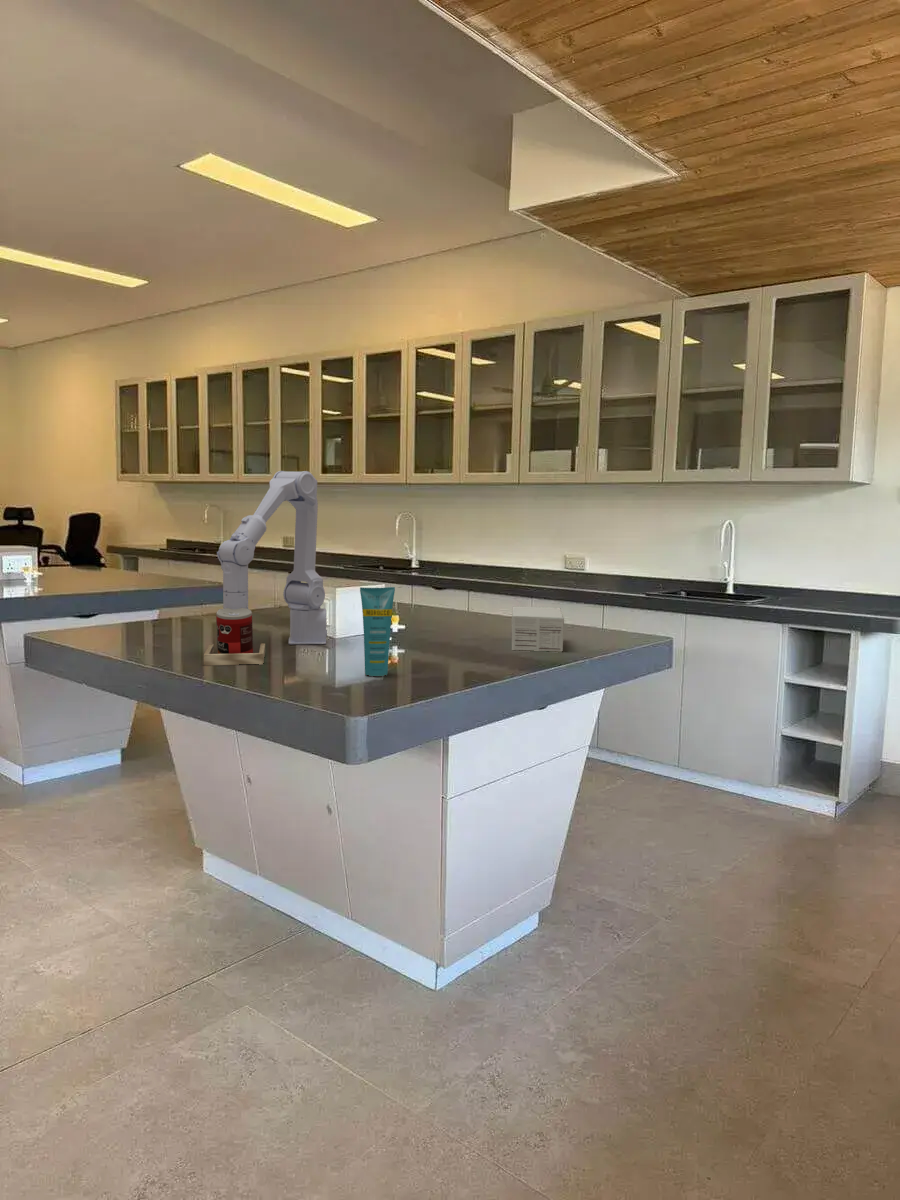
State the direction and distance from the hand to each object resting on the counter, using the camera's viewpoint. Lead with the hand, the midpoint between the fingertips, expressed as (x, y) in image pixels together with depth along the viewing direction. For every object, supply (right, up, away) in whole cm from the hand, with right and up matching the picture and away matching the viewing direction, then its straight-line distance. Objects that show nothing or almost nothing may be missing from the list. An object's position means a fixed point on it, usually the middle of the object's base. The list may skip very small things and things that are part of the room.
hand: (236, 648), depth 202 cm
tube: (+35, -5, -17) cm, 39 cm away
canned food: (+1, -2, -4) cm, 4 cm away
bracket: (+1, -2, -3) cm, 4 cm away
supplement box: (+73, -1, +21) cm, 76 cm away
